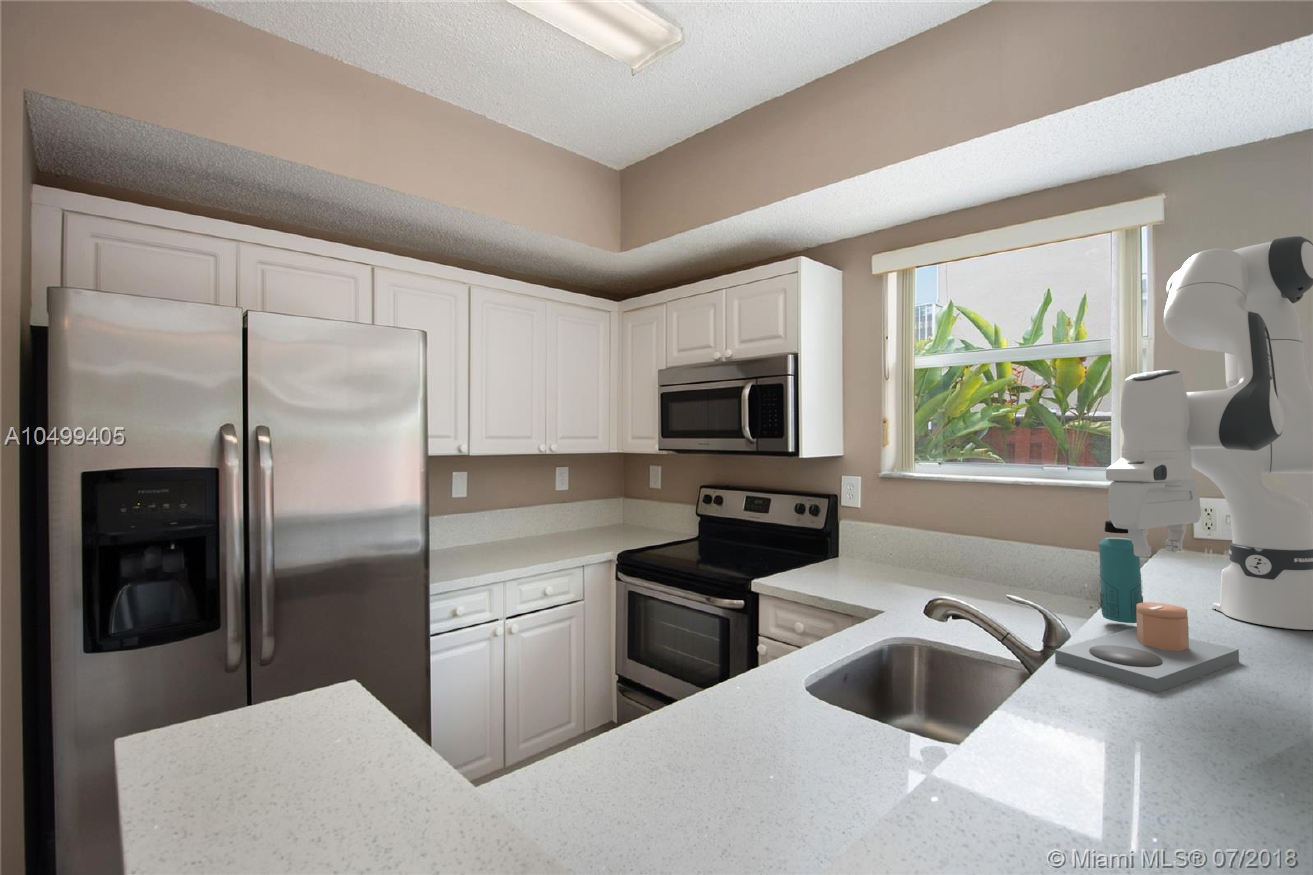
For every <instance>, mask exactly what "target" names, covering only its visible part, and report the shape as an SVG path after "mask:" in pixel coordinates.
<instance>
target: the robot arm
mask: <svg viewBox="0 0 1313 875" xmlns="http://www.w3.org/2000/svg"><path fill="white" fill-rule="evenodd" d="M1312 287H1313V242H1312V241H1310V240H1309V239H1307V238H1305V237H1304V236H1300V235H1299V236H1285V237H1280V238H1279V237H1278V238H1274V240H1272V241H1267V242H1263V243H1259V244H1252V245H1248V246H1244V247H1240V248H1236V249H1233V250H1232V249H1227V248H1211V249H1205V250H1202V251H1200V252H1197V253H1195V254H1193V255H1191V257H1189V258H1188V259H1187V260H1186V261H1185V262H1184V263H1183V264H1182V266H1181V268H1179V270H1177V271H1175V272H1174V273H1173V274H1172V275H1171V277H1170V278H1169V279H1168V281H1167V284H1166V288H1165V289H1166V297H1167V300H1166V304H1165V308H1164V311H1163V326H1164V329H1165V331H1166V332H1167V333H1168V335H1169V336H1170V337H1171V338H1172V339H1173V340H1175V341H1176V342H1177V343H1180V344H1181V345H1184V346H1186V347H1189V348H1192V349H1194V350H1201V351H1208V352H1211V351H1212V352H1217V353H1224V360H1225V361H1224V364H1225V365H1224V367H1225V368H1224V369H1225V384H1226V387H1227V388H1223V389H1212V390H1199V391H1187V386H1186V385H1187V384H1186V382H1185V377H1184V375H1183V372H1182V371H1179V370H1176V369H1165V370H1163V369H1162V370H1161V369H1160V370H1154V371H1153V370H1152V371H1147V372H1146V371H1145V372H1138V373H1134V374H1131V375H1130V376H1128V377H1127V378H1125V380H1124V382H1123V386H1122V391H1121V399H1120V400H1121V401H1120V428H1121V430H1122V433H1123V443H1122V446H1121V457H1120V458H1118V460H1117V461H1116V462H1115V463H1113V464H1111V465H1109V466H1108V467H1107V468H1106V469H1105V478H1106V480H1107V481H1109V482H1111V483H1110V484H1109V486H1108V510H1109V519H1110V521H1111V522H1112V523H1113V525H1114V527H1115V528H1121V529H1128V533H1127V534H1128V538H1129V539H1131V541H1132V543H1133V545H1134V555H1136V556H1140V557H1141V558H1146V557H1147V558H1148V557H1151V555H1152V545H1149V542H1148V538H1147V536H1148V535H1149V529H1155V528H1164V527H1166V529H1167V530H1168V534H1167V539H1165V540H1164V545H1165V547H1164V548H1165V550H1166V551H1167V552H1172V553H1178V552H1181V551H1183V541H1184V538H1185V536H1186V533H1187V525H1188V524H1196V523H1199V521H1200V520H1201V517H1202V510H1201V499H1200V493H1199V492H1200V491H1199V488H1198V484H1197V481H1196V480H1195V479H1193V477H1192V476H1193V475H1192V474H1193V473H1192V471H1193V470H1192V469H1194V470H1196V471H1197V472H1199V473H1201V474H1203V476H1205V477H1207V479H1208V478H1209V480H1211V482H1212V483H1214V485H1216V486H1217V488H1218V489H1219V491H1221V493H1222V495H1223V497H1224V499H1225V501H1226V503H1227V506H1228V512H1229V516H1230V517H1229V518H1230V525H1231V540H1232V541H1231V542H1230V543H1229V549H1228V554H1229V561H1230V564H1229V565H1228V566H1226V567H1225V568H1223V569H1222V570H1221V574H1220V575H1221V577H1220V578H1221V579H1220V592H1219V593H1220V594H1219V597H1220V598H1219V601H1218V602H1212V603H1211V609H1213V610H1215V609H1216V610H1215V611H1219V612H1222V614H1224V615H1225V616H1228V617H1229V618H1233V619H1236V620H1239V621H1243V622H1247V623H1250V624H1251V623H1252V624H1257V625H1263V626H1268V627H1272V628H1273V627H1275V628H1283V629H1292V630H1304V631H1305V630H1307V631H1308V630H1310V631H1312V630H1313V511H1312V509H1311V507H1310V506H1309V504H1307V503H1306V502H1305V501H1304V500H1303V499H1300V498H1298V497H1296V496H1294V495H1291V494H1289V493H1286V492H1284V491H1281V490H1277V489H1275V488H1273V487H1270V486H1269V485H1268V484H1267V483H1266V482H1265V479H1264V476H1265V475H1270V474H1280V475H1281V474H1288V475H1289V474H1291V475H1292V474H1294V475H1296V474H1297V475H1298V474H1299V475H1301V474H1302V475H1306V474H1307V475H1313V387H1312V385H1311V384H1310V380H1309V377H1308V370H1307V367H1306V360H1305V349H1304V346H1305V345H1304V338H1303V337H1304V336H1303V331H1302V325H1301V324H1302V323H1301V320H1300V316H1299V314H1298V313H1299V312H1298V310H1297V308H1296V306H1295V304H1296V303H1297V302H1299V301H1301V300H1302V298H1304V297H1303V296H1304V294H1306V293H1307V291H1309V290H1310V289H1311V288H1312Z"/></svg>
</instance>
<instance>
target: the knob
mask: <svg viewBox="0 0 1313 875" xmlns="http://www.w3.org/2000/svg"><path fill="white" fill-rule="evenodd" d="M1136 605H1137V610H1136V616H1137V623H1136V627H1137V641H1139V642H1140V643H1141V644H1143V645H1145V646H1149V647H1153V648H1157V649H1161V650H1173V651H1182V650H1185V649H1188V648H1189V638H1190V636H1189V617H1188V610H1187V608H1185V607H1182V606H1180V605H1179V606H1178V605H1174V604H1170V603H1162V602H1148V601H1147V602H1145V601H1143V603H1138V604H1136Z"/></svg>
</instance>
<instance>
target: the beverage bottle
mask: <svg viewBox="0 0 1313 875" xmlns="http://www.w3.org/2000/svg"><path fill="white" fill-rule="evenodd" d="M1104 532H1105V533H1111V534H1128V529H1121V528H1115V527H1114V525H1113V523H1112V522H1111V520H1105V522H1104ZM1098 548H1099V576H1100V577H1099V584H1100V592H1099V595H1100V599H1099V600H1100V610H1101V615H1102V617H1103V618H1104V619H1105V620H1109V621H1112V622H1118V623H1125V624H1137V616H1136V610H1137V605H1136V604H1138V603H1144V596H1143V591H1144V589H1143V588H1144V587H1143V579H1142V573H1141V571H1142V570H1141V558H1140V556H1136V555H1134V545H1133V543H1132V541H1131V539H1130V538H1127V537H1116V536H1115V537H1112V536H1111V537H1104V538H1103V539H1101V541H1099V543H1098Z"/></svg>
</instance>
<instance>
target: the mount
mask: <svg viewBox="0 0 1313 875" xmlns="http://www.w3.org/2000/svg"><path fill="white" fill-rule="evenodd" d="M1239 650H1240V649H1239V648H1234V647H1229V646H1225V645H1220V644H1216V643H1211V642H1207V641H1204V640H1203V641H1202V640H1198V639H1194V638H1190V637H1189V648H1188V649H1185V650H1182V651H1173V650H1161V649H1157V648H1153V647H1149V646H1145V645H1143V644H1141V643H1140V642H1139V641H1137V626H1135V627H1131V628H1128V629H1124V630H1121V631H1120V630H1119V631H1116V632H1113V633H1110V634H1106V635H1101V636H1099V637H1095V638H1092V639H1089V640H1088V639H1087V640H1085V641H1082V642H1077V643H1074V644H1070V645H1067V646H1063V647H1059V648H1056V649H1054V660H1055V663H1058V664H1061V665H1063V666H1067V667H1070V668H1073V669H1077V670H1080V671H1083V672H1087V673H1091V674H1094V675H1097V676H1099V677H1103V678H1107V679H1110V680H1114V681H1115V682H1120V683H1123V684H1126V685H1130V686H1133V687H1136V688H1140V689H1143V690H1147V691H1150V692H1152V693H1156V694H1158V693H1161V692H1163V691H1167V690H1169V689H1173V688H1174V687H1177V686H1180V685H1182V684H1184V683H1188V682H1190V681H1192V680H1193V681H1194V680H1195V679H1198V678H1200V677H1203V676H1207V675H1208V674H1213V673H1214V672H1216V671H1220V670H1222V669H1224V668H1228V667H1230V666H1233V665H1235V664H1239V663H1240V654H1239V653H1240V652H1239Z"/></svg>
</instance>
